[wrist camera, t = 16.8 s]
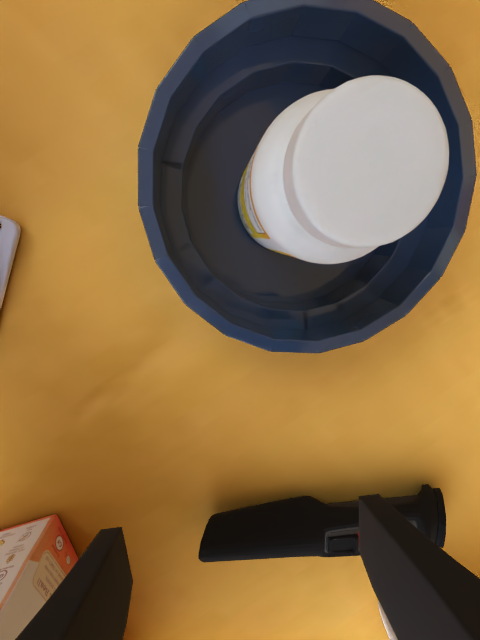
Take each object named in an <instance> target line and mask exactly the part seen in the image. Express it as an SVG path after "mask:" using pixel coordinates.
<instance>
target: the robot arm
mask: <svg viewBox="0 0 480 640" xmlns="http://www.w3.org/2000/svg"><path fill="white" fill-rule="evenodd" d="M0 223H1V229H0V310H1V306H2V303H3V299H4V295H5V291H6V287H7V283H8V279H9V276H10V272H11V268H12V264H13V260H14V256H15V253H16V249H17V245H18V241H19V237H20V233H21V229H20V226H19V224H18V223H17V222H16V221H14V220H12V219H10V218H7V217H4V216H2V215H0ZM359 552H360V555H361V557H362V560H363V563H364V566H365V568H366V571H367V574H368V577H369V579H370V582H371V584H372V587H373V590H374V592H375V594H376V596H377V598H378V600H379V602H380V604H381V606H382V608H383V610H384V613H385V615H386V617H387V619H388V621H389V623H390V625H391V627H392V629H393V631H394V633H395V635H396V637H397V639H398V640H480V579H479V578H478V577H477V576H475V575H474V574H473V573H471V572H470V571H469V570H467V569H466V568H465V567H464V566H462V565H461V564H460V563H458V562H457V561H456V560H455V559H453V558H452V557H451V556H450V555H448V554H447V553H446V552H445V551H443V550H442V549H441V548H440V547H439V546H437V545H436V544H435V543H434V542H433V541H431V540H430V539H429V538H428V537H427V536H425V535H424V534H423V533H422V532H421V531H420V530H418V529H417V528H416V527H415V526H414V525H413V524H412V523H410V522H409V521H408V520H407V519H406V518H405V517H404V516H403V515H401V514H400V513H399V512H398V511H397V510H396V509H395V508H394V507H392V506H391V505H390V504H389V503H388V502H387V501H386V500H385V499H383V498H382V497H381V496H380V495H379V494H374V495H366V496H359ZM132 584H133V579H132V574H131V570H130V565H129V560H128V555H127V550H126V545H125V540H124V535H123V530H122V527H117V528H109V529H101V530H100V532H99V533H98V534H97V535H96V537H95V538H94V539H93V541H92V542H91V543H90V545H89V546H88V547H87V549H86V550H85V551H84V553H83V554H82V556H81V557H80V558H79V560H78V561H77V562H76V564H75V565H74V566H73V568H72V569H71V570H70V572H69V573H68V574H67V576H66V577H65V578H64V580H63V581H62V582H61V583H60V585H59V586H58V587H57V589H56V590H55V591H54V592H53V594H52V595H51V596H50V598H49V599H48V600H47V601H46V603H45V604H44V605H43V606H42V608H41V609H40V610H39V611H38V613H37V614H36V615H35V616H34V617H33V619H32V620H31V621H30V622H29V623H28V625H27V626H26V627H25V628H24V629H23V631H22V632H21V633H20V634H19V635H18V637H17V638H16V639H15V640H123V636H124V632H125V627H126V623H127V617H128V611H129V605H130V598H131V591H132Z"/></svg>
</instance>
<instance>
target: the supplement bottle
mask: <svg viewBox="0 0 480 640" xmlns="http://www.w3.org/2000/svg"><path fill="white" fill-rule="evenodd" d="M448 166H449V143H448V137H447V132H446V128H445V125H444V123H443V120H442V118H441V116H440V114H439V112H438V110H437V108H436V107H435V105H434V104H433V103H432V101H431V100H430V99H429V98H428V97H427V96H426V95H425V94H424V93H423V92H422V91H420V90H419V89H418V88H417V87H415V86H413V85H412V84H410V83H408V82H406V81H404V80H401V79H398V78H395V77H389V76H380V75H372V76H365V77H360V78H356V79H353V80H350V81H347V82H345V83H343V84H342V85H340V86H338V87H337V88H335V89H328V90H323V91H318V92H315V93H312V94H309V95H307V96H305V97H303V98H301V99H299V100H297V101H296V102H294V103H293V104H291V105H290V106H289V107H287V108H286V109H285V110H284V111H283V112H281V113H280V114H279V115H278V116H277V117H276V118H275V120H274V121H273V122H272V123H271V125H270V126H269V127H268V129H267V130H266V132H265V134H264V135H263V137H262V139H261V141H260V142H259V144H258V146H257V148H256V150H255V152H254V154H253V155H252V157H251V159H250V161H249V163H248V165H247V167H246V169H245V171H244V173H243V175H242V178H241V180H240V184H239V188H238V209H239V214H240V218H241V220H242V223H243V225H244V227H245V229H246V230H247V232H248V233H249V234H250V236H251V237H252V238H253V239H254V240H255V241H256V242H257V243H259V244H260V245H262V246H263V247H265V248H267V249H269V250H271V251H274V252H277V253H281V254H284V255H288V256H291V257H295V258H298V259H301V260H304V261H308V262H312V263H319V264H337V263H343V262H348V261H351V260H354V259H357V258H360V257H362V256H364V255H366V254H368V253H369V252H371V251H373V250H374V249H376V248H377V247H378V246H381V245H385V244H388V243H391V242H394V241H395V240H397V239H399V238H401V237H403V236H404V235H406V234H408V233H409V232H411V231H412V230H413V229H414V228H416V227H417V226H418V225H419V224H420V223H421V222H422V221H423V220H424V219H425V218H426V216H427V215H428V214H429V212H430V211H431V210H432V208H433V207H434V205H435V203H436V202H437V200H438V198H439V196H440V193H441V191H442V188H443V186H444V183H445V180H446V176H447V172H448Z"/></svg>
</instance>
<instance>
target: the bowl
mask: <svg viewBox="0 0 480 640" xmlns="http://www.w3.org/2000/svg"><path fill="white" fill-rule="evenodd" d="M372 75H380V76H389V77H395V78H398V79H401V80H404V81H406V82H408V83H410V84H412V85H413V86H415V87H417V88H418V89H419V90H420V91H422V92H423V93H424V94H425V95H426V96H427V97H428V98H429V99H430V100H431V101H432V103H433V104H434V105H435V107H436V108H437V110H438V112H439V114H440V116H441V118H442V120H443V123H444V125H445V128H446V132H447V137H448V143H449V166H448V172H447V176H446V180H445V183H444V186H443V188H442V191H441V193H440V196H439V198H438V200H437V202H436V203H435V205H434V207H433V208H432V210H431V211H430V212H429V214H428V215H427V216H426V218H425V219H424V220H423V221H422V222H421V223H420V224H419V225H418V226H417V227H416V228H414V229H413V230H412V231H411V232H409V233H408V234H406V235H404V236H403V237H401V238H399V239H397V240H395V241H394V242H391V243H388V244H385V245H381V246H378V247H377V248H376V249H374V250H373V251H371V252H369V253H368V254H366V255H364V256H362V257H360V258H357V259H354V260H351V261H348V262H343V263H337V264H319V263H312V262H308V261H304V260H301V259H298V258H295V257H291V256H288V255H284V254H281V253H277V252H274V251H271V250H269V249H267V248H265V247H263V246H262V245H260V244H259V243H257V242H256V241H255V240H254V239H253V238H252V237H251V236H250V234H249V233H248V232H247V230H246V229H245V227H244V225H243V223H242V220H241V218H240V214H239V209H238V188H239V184H240V180H241V178H242V175H243V173H244V171H245V169H246V167H247V165H248V163H249V161H250V159H251V157H252V155H253V154H254V152H255V150H256V148H257V146H258V144H259V142H260V141H261V139H262V137H263V135H264V134H265V132H266V130H267V129H268V127H269V126H270V125H271V123H272V122H273V121H274V120H275V118H276V117H277V116H278V115H279V114H280V113H281V112H283V111H284V110H285V109H286V108H287V107H289V106H290V105H291V104H293V103H294V102H296V101H297V100H299V99H301V98H303V97H305V96H307V95H309V94H312V93H315V92H318V91H323V90H328V89H335V88H337V87H338V86H340V85H342V84H343V83H345V82H347V81H350V80H353V79H356V78H360V77H365V76H372ZM138 147H139V148H138V206H139V212H140V215H141V218H142V221H143V225H144V228H145V231H146V234H147V237H148V241H149V244H150V247H151V250H152V253H153V257H154V259H155V260H156V261H155V262H156V263H157V265H158V266H159V268H160V269H161V271H162V272H163V274H164V275H165V276H166V278H167V279H168V281H169V282H170V284H171V285H172V287H173V288H174V289H175V291H176V292H177V294H178V295H179V297H180V298H181V300H182V301H183V302H184V304H186V306H188V307H189V308H190V309H191V310H193V311H194V312H195V313H197V314H198V315H199V316H201V317H202V318H203V319H204V320H206V321H207V322H208V323H210V324H211V325H212V326H213V327H215V328H216V329H217V330H219V331H220V332H221V333H223V334H224V335H226V336H228V337H231V338H234V339H236V340H239V341H242V342H245V343H248V344H250V345H253V346H256V347H259V348H261V349H264V350H267V351H271V352H293V353H322V352H326V351H329V350H333V349H337V348H341V347H344V346H348V345H352V344H356V343H359V342H363V341H365V340H367V339H369V338H370V337H372V336H373V335H375V334H377V333H378V332H380V331H382V330H383V329H385V328H387V327H388V326H390V325H391V324H393V323H395V322H396V321H398V320H400V319H401V318H403V317H405V316H406V315H407V314H408V313H409V312H410V311H411V310H412V309H413V308H414V306H415V305H416V304H417V303H418V302H419V301H420V300H421V299H422V298H423V297H424V296H425V295H426V293H427V292H428V291H429V290H430V289H431V288H432V287H433V286H434V285H435V284H436V283H437V282H438V280H439V279H440V277H442V275H443V273H444V271H445V269H446V267H447V266H448V264H449V262H450V260H451V258H452V256H453V254H454V252H455V250H456V248H457V246H458V244H459V242H460V240H461V238H462V236H463V234H464V232H465V229H466V225H467V220H468V215H469V210H470V205H471V201H472V196H473V191H474V186H475V181H476V177H475V176H476V175H477V174H476V161H475V149H474V136H473V124H472V120H471V116H470V113H469V111H468V108H467V106H466V103H465V101H464V98H463V96H462V93H461V91H460V88H459V86H458V83H457V81H456V78H455V76H454V73H453V71H452V68H451V67H449V64H448V63H447V62H446V60H445V59H444V58H443V57H442V56H441V55H440V53H439V52H438V51H437V50H436V49H435V48H434V46H433V45H432V44H431V43H430V42H429V41H428V39H427V38H426V37H425V36H424V35H423V34H422V32H421V31H420V30H419V29H418V28H417V27H416V26H415V24H414V23H412V22H411V21H410V20H408V19H406V18H405V17H403V16H401V15H399V14H397V13H396V12H394V11H392V10H390V9H388V8H386V7H385V6H383V5H381V4H379V3H377V2H376V1H374V0H248V1H245V2H242V3H240V4H239V5H238V6H236V7H235V8H233V9H232V10H231V11H229V12H228V13H226V14H225V15H223V16H222V17H221V18H219V19H218V20H216V21H215V22H214V23H212V24H211V25H209V26H208V27H206V28H205V29H204V30H202V31H201V32H199V33H198V34H196V35H195V36H194V37H193V38H192V39H191V41H190V42H189V43H188V45H187V46H186V48H185V49H184V50H183V52H182V53H181V55H180V56H179V57H178V59H177V60H176V62H175V63H174V64H173V66H172V67H171V69H170V70H169V71H168V73H167V74H166V76H165V77H164V78H163V80H162V81H161V83H160V84H159V85H158V87H157V89H156V91H155V94H154V97H153V100H152V104H151V107H150V110H149V113H148V116H147V120H146V123H145V126H144V129H143V132H142V136H141V139H140V142H139V145H138Z"/></svg>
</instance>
